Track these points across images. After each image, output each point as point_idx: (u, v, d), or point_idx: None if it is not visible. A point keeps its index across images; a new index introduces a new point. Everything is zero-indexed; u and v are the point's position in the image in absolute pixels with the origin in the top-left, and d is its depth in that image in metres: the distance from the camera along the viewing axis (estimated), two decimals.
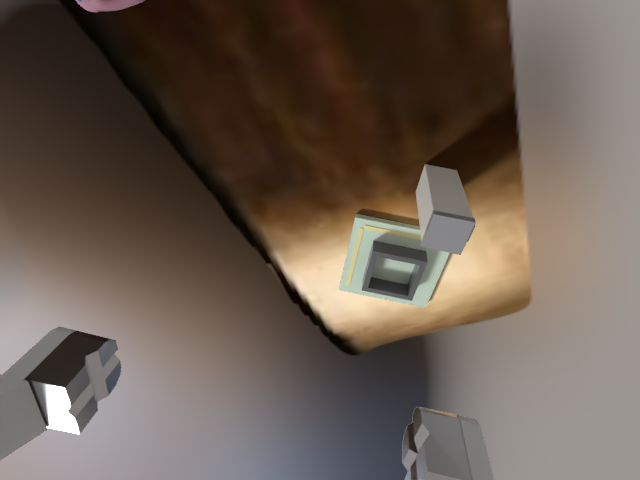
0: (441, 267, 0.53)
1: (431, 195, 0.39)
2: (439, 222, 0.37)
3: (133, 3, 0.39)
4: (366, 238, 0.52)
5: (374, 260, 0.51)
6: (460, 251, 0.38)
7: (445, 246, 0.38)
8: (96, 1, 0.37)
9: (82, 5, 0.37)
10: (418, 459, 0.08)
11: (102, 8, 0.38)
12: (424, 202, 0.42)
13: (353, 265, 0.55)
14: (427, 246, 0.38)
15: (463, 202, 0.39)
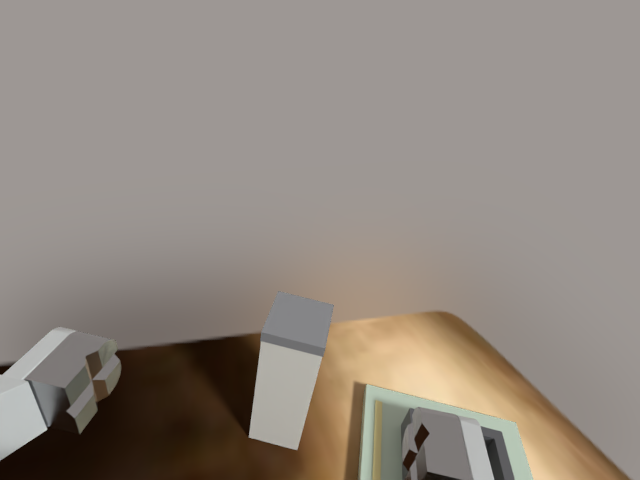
0: (424, 401, 0.34)
1: (257, 371, 0.25)
2: (276, 326, 0.24)
3: None
4: None
5: None
6: (327, 304, 0.26)
7: (321, 320, 0.25)
8: None
9: None
10: (419, 459, 0.08)
11: None
12: (280, 393, 0.26)
13: None
14: (323, 340, 0.23)
15: None
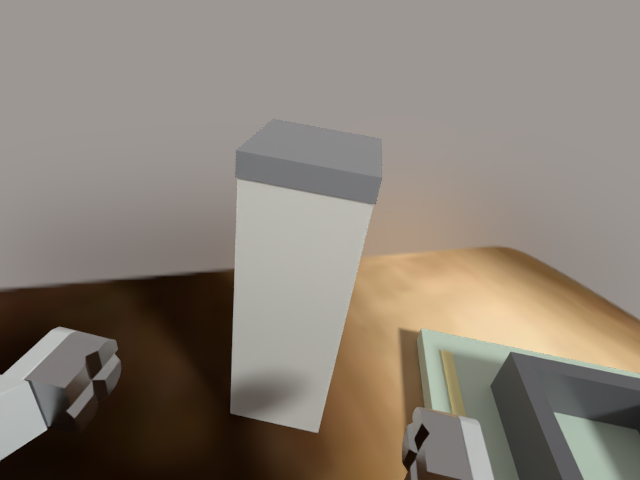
0: (517, 351, 0.21)
1: (236, 265, 0.12)
2: (270, 147, 0.11)
3: None
4: None
5: None
6: (370, 137, 0.13)
7: (362, 149, 0.12)
8: None
9: None
10: (419, 459, 0.08)
11: None
12: (283, 313, 0.13)
13: None
14: (373, 169, 0.11)
15: None
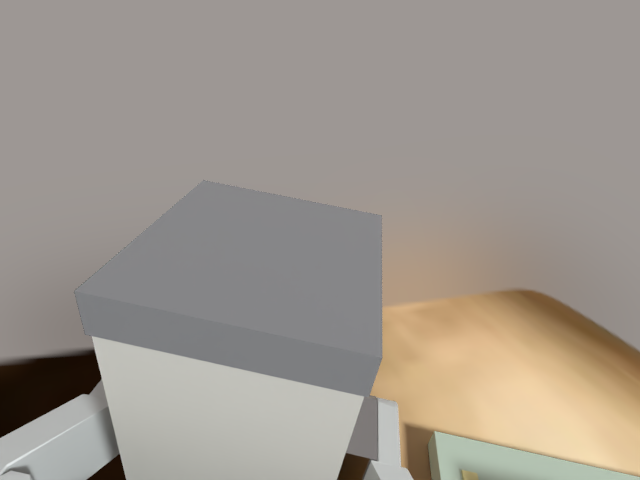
0: (564, 465, 0.16)
1: None
2: (162, 268, 0.05)
3: None
4: None
5: None
6: (363, 214, 0.08)
7: (347, 252, 0.07)
8: None
9: None
10: None
11: None
12: None
13: None
14: (365, 321, 0.05)
15: None
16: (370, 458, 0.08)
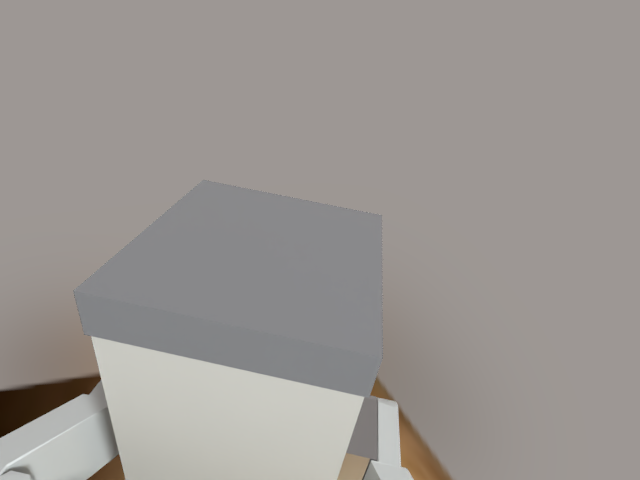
0: None
1: None
2: (162, 268, 0.05)
3: None
4: None
5: None
6: (363, 214, 0.08)
7: (347, 252, 0.07)
8: None
9: None
10: None
11: None
12: None
13: None
14: (365, 322, 0.05)
15: None
16: (370, 458, 0.08)
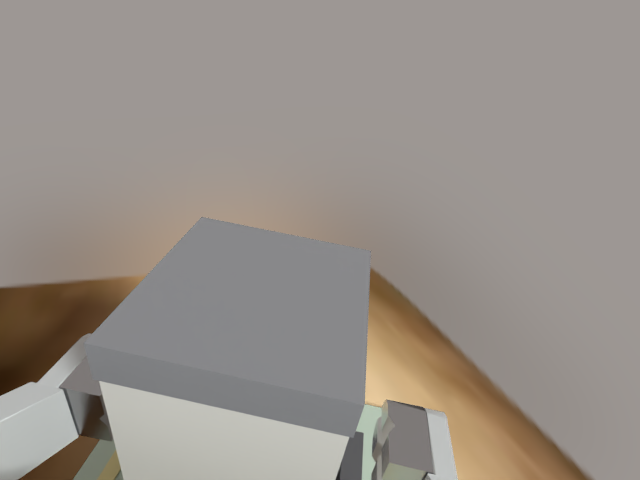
0: None
1: None
2: (164, 316, 0.06)
3: None
4: None
5: None
6: (353, 250, 0.09)
7: (336, 293, 0.07)
8: None
9: None
10: (383, 451, 0.08)
11: None
12: None
13: None
14: (350, 367, 0.06)
15: None
16: (426, 471, 0.08)
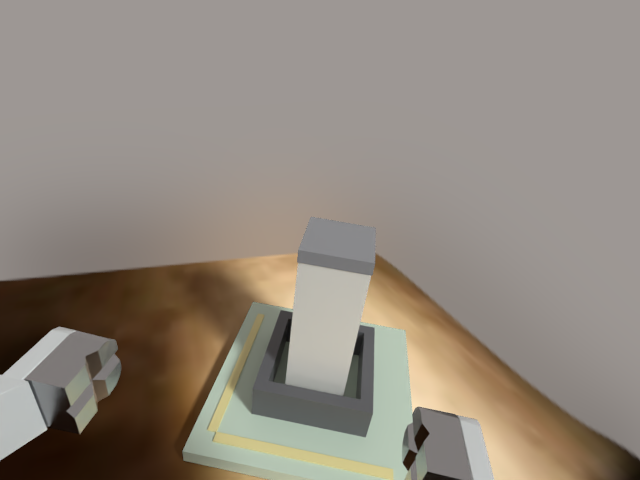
0: None
1: (294, 306, 0.22)
2: (315, 244, 0.20)
3: None
4: (245, 427, 0.23)
5: (278, 385, 0.23)
6: (369, 227, 0.23)
7: (364, 240, 0.21)
8: None
9: None
10: (418, 459, 0.08)
11: None
12: (320, 332, 0.22)
13: (323, 456, 0.22)
14: (370, 256, 0.20)
15: None
16: None
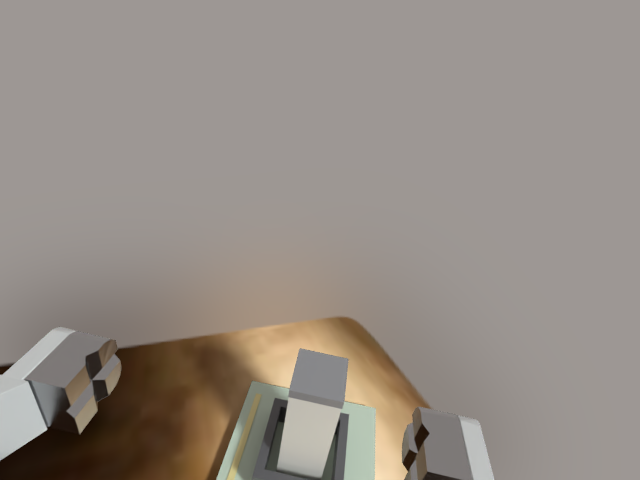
0: None
1: (285, 421, 0.29)
2: (301, 383, 0.28)
3: None
4: None
5: (272, 473, 0.31)
6: (343, 359, 0.30)
7: (338, 375, 0.29)
8: None
9: None
10: (418, 459, 0.08)
11: None
12: (304, 438, 0.30)
13: None
14: (341, 394, 0.27)
15: None
16: None
